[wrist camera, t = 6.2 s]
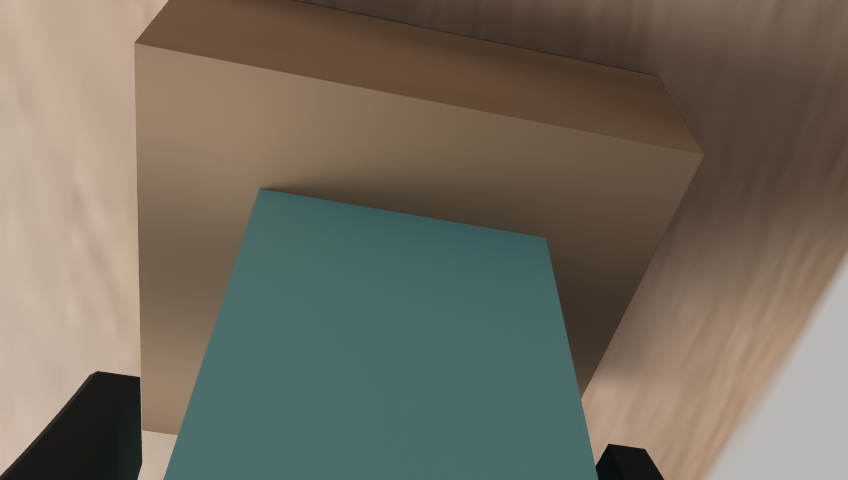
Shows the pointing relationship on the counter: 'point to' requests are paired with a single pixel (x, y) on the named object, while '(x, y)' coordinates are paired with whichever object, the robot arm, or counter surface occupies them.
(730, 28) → the counter surface
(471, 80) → the walnut plinth
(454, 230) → the teal block
